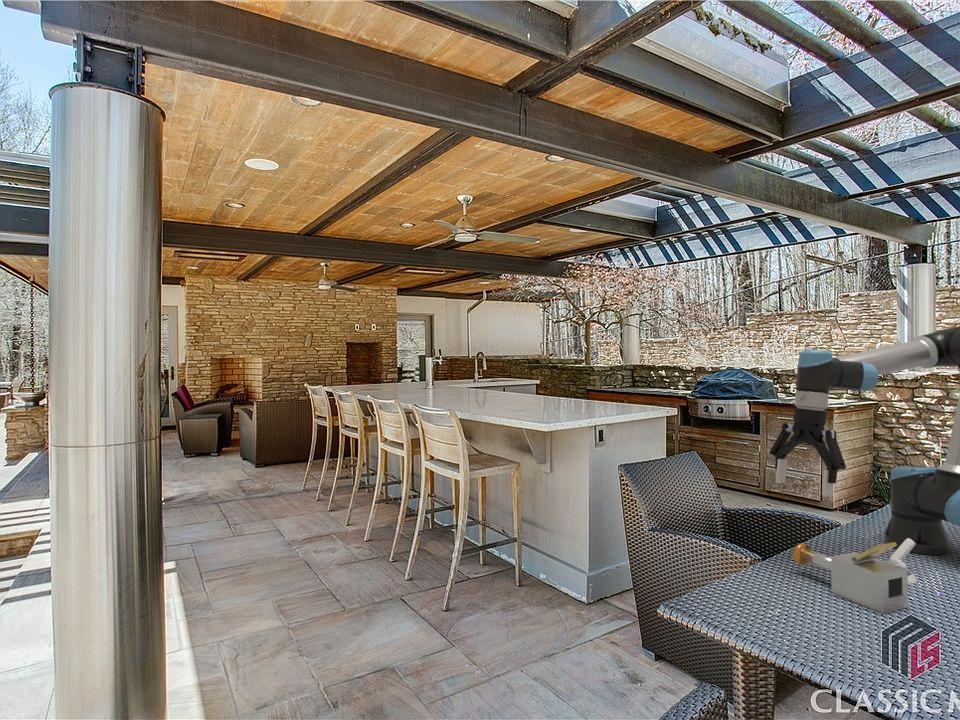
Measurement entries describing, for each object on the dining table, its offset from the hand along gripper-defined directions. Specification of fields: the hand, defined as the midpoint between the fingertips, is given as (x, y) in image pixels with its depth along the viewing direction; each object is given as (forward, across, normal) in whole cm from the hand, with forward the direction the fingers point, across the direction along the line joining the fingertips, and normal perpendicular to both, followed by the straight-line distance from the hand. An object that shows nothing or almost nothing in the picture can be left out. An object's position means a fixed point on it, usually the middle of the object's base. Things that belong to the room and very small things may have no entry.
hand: (802, 489), depth 148 cm
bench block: (+21, +20, -1) cm, 29 cm away
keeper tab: (+10, +21, -2) cm, 23 cm away
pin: (+19, +8, -1) cm, 20 cm away
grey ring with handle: (+19, +14, +18) cm, 30 cm away
